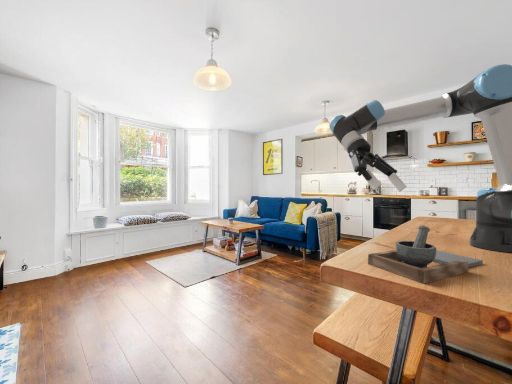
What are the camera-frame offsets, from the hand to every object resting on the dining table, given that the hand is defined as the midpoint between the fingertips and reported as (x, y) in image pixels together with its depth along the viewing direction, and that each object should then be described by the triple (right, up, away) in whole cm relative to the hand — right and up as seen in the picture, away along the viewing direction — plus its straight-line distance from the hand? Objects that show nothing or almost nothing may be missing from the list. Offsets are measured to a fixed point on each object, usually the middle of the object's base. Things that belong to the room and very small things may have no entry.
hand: (390, 188), depth 78 cm
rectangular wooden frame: (+3, -23, -8) cm, 25 cm away
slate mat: (+18, -23, 0) cm, 29 cm away
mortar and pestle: (+3, -23, -8) cm, 25 cm away
